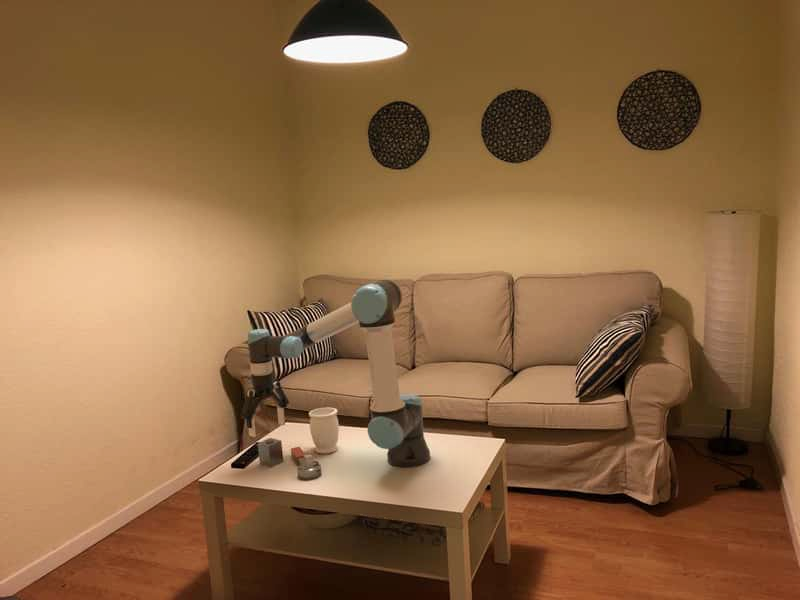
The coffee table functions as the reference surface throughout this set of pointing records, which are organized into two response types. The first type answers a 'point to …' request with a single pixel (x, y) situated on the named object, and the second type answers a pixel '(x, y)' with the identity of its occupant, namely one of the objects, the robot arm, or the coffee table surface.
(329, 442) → the jar
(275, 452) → the grey block
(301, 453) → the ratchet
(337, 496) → the coffee table surface
